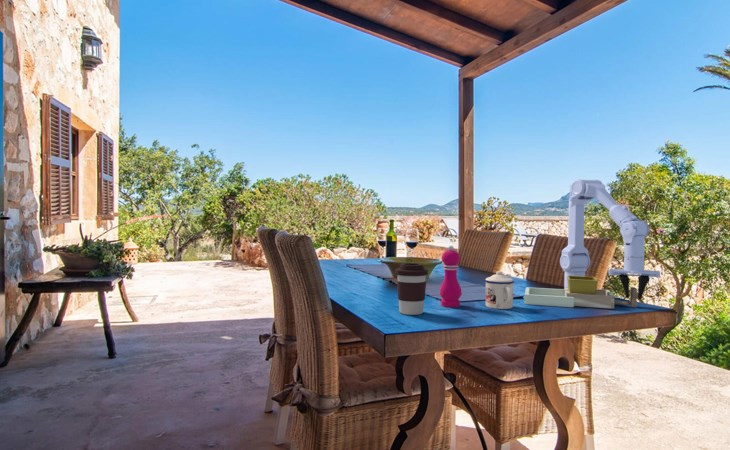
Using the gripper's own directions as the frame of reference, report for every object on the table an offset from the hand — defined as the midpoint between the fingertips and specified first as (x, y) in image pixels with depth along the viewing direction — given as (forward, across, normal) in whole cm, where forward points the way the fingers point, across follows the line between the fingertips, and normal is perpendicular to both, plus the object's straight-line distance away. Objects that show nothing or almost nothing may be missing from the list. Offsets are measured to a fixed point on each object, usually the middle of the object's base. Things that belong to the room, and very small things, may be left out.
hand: (633, 298), depth 150 cm
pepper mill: (+3, -56, -21) cm, 60 cm away
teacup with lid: (+3, -40, -18) cm, 44 cm away
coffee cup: (+3, -66, -37) cm, 75 cm away
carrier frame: (+3, -10, 0) cm, 10 cm away
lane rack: (+3, -26, 0) cm, 26 cm away
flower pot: (+3, -16, -1) cm, 16 cm away
